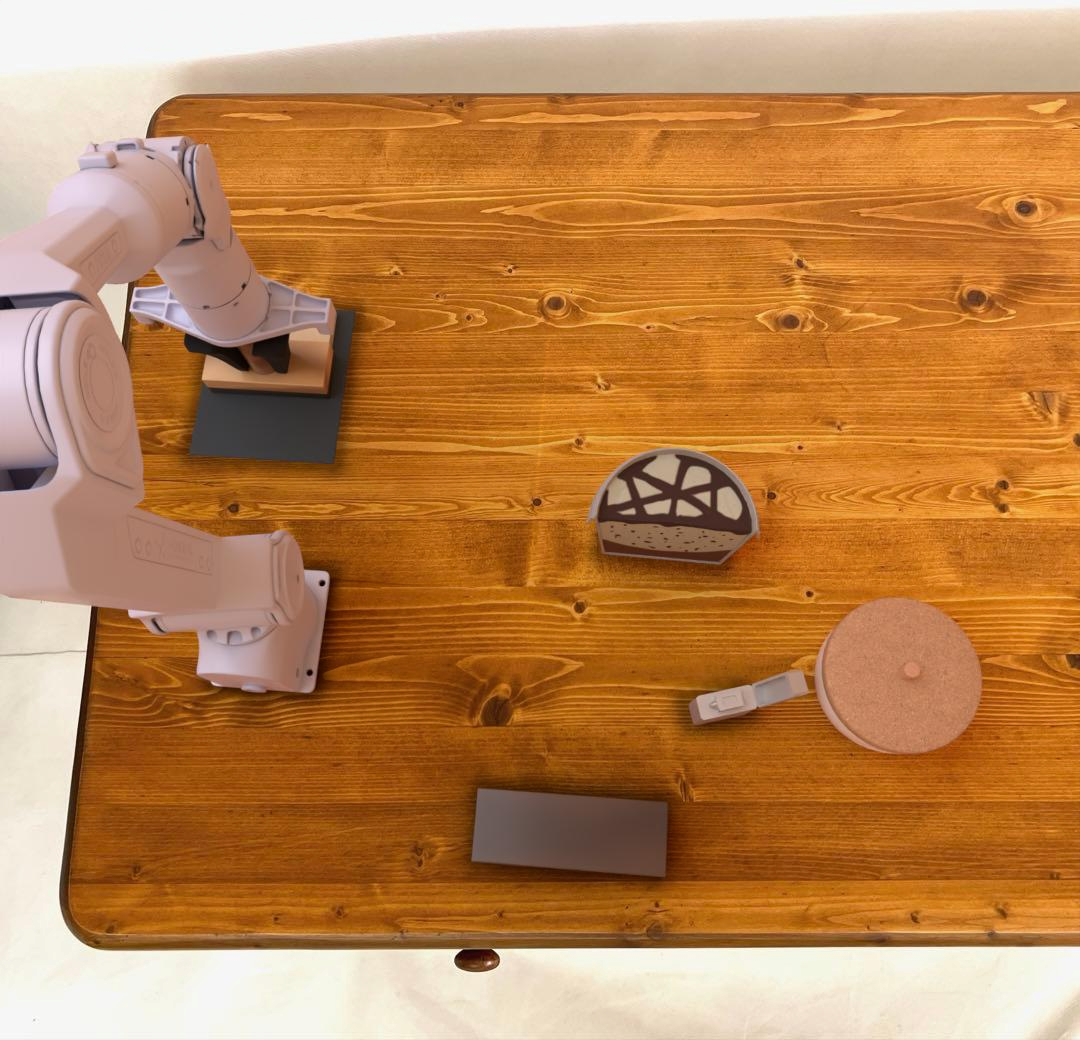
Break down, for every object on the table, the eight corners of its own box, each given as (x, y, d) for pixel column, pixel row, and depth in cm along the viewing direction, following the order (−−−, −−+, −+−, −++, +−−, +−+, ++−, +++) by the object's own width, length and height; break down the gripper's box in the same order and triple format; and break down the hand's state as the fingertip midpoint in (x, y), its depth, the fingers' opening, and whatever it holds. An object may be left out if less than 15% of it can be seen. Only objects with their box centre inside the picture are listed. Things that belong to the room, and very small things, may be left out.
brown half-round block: (742, 492, 79) (768, 447, 69) (739, 566, 77) (765, 531, 67) (589, 479, 79) (594, 432, 70) (583, 552, 78) (587, 514, 68)
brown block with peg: (330, 399, 81) (306, 355, 74) (211, 392, 82) (175, 348, 74) (336, 355, 82) (313, 308, 75) (219, 349, 83) (184, 301, 75)
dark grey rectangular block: (656, 872, 71) (665, 877, 65) (477, 858, 71) (470, 861, 65) (659, 803, 72) (668, 802, 66) (483, 789, 72) (477, 787, 67)
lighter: (693, 726, 74) (709, 715, 66) (687, 703, 74) (703, 690, 66) (784, 705, 74) (811, 692, 66) (778, 683, 74) (803, 667, 67)
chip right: (331, 355, 82) (328, 349, 81) (284, 353, 83) (280, 346, 81) (337, 313, 84) (334, 306, 82) (291, 311, 84) (287, 304, 83)
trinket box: (936, 772, 72) (990, 765, 63) (790, 745, 73) (824, 736, 64) (944, 630, 75) (997, 605, 66) (805, 606, 76) (839, 578, 67)
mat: (334, 465, 80) (333, 463, 80) (190, 456, 80) (188, 454, 80) (356, 312, 84) (355, 310, 84) (218, 304, 84) (217, 302, 84)
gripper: (322, 227, 67) (360, 322, 80) (116, 215, 68) (186, 312, 81) (308, 318, 65) (349, 401, 78) (95, 306, 66) (171, 390, 79)
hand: (265, 361), depth 80 cm, fingers closed on brown block with peg, 2 cm apart
